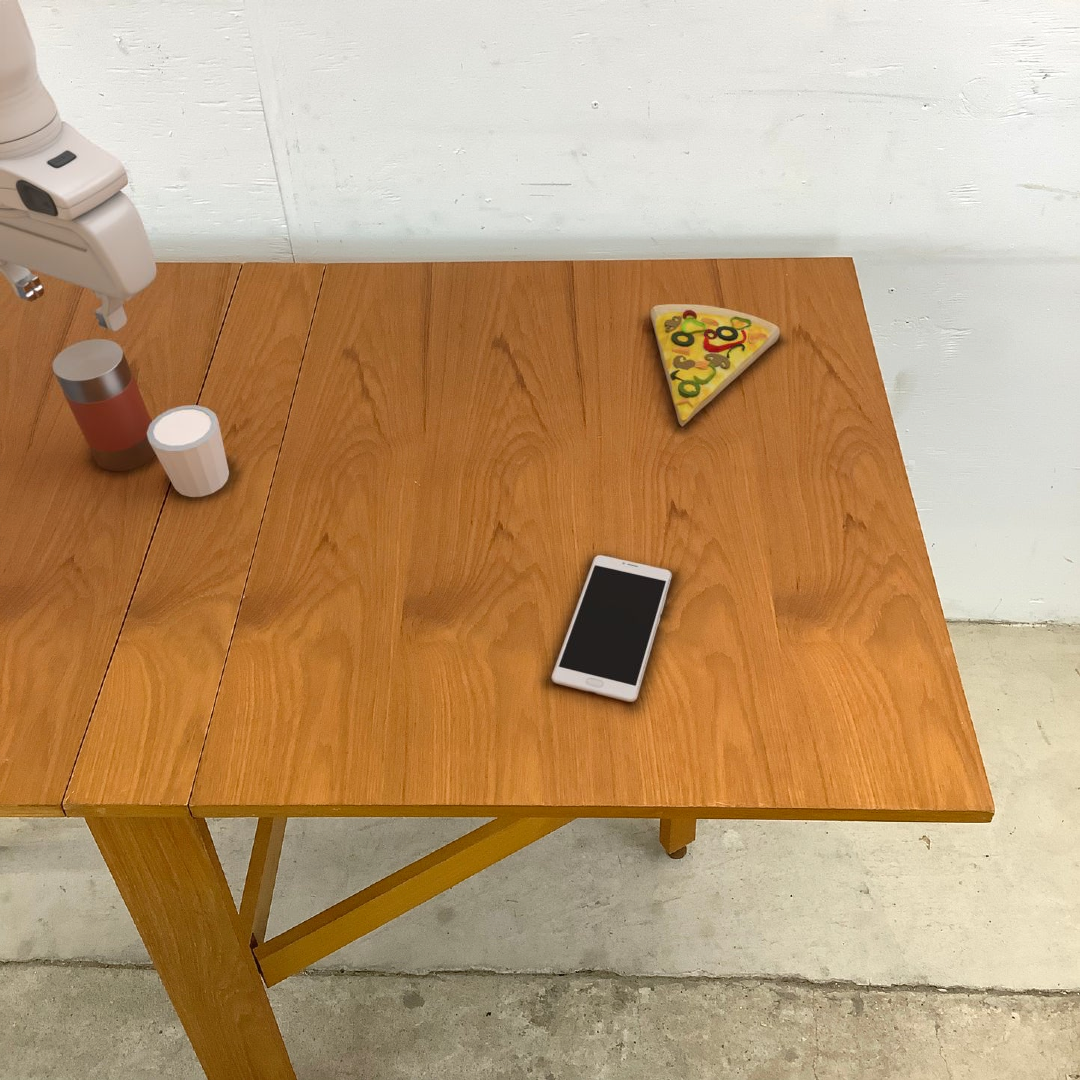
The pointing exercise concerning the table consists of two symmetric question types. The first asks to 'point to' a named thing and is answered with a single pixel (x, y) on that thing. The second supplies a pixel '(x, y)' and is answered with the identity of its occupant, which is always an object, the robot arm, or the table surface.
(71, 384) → the tin can
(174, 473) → the shot glass
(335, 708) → the table surface
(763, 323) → the pizza slice
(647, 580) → the smartphone
